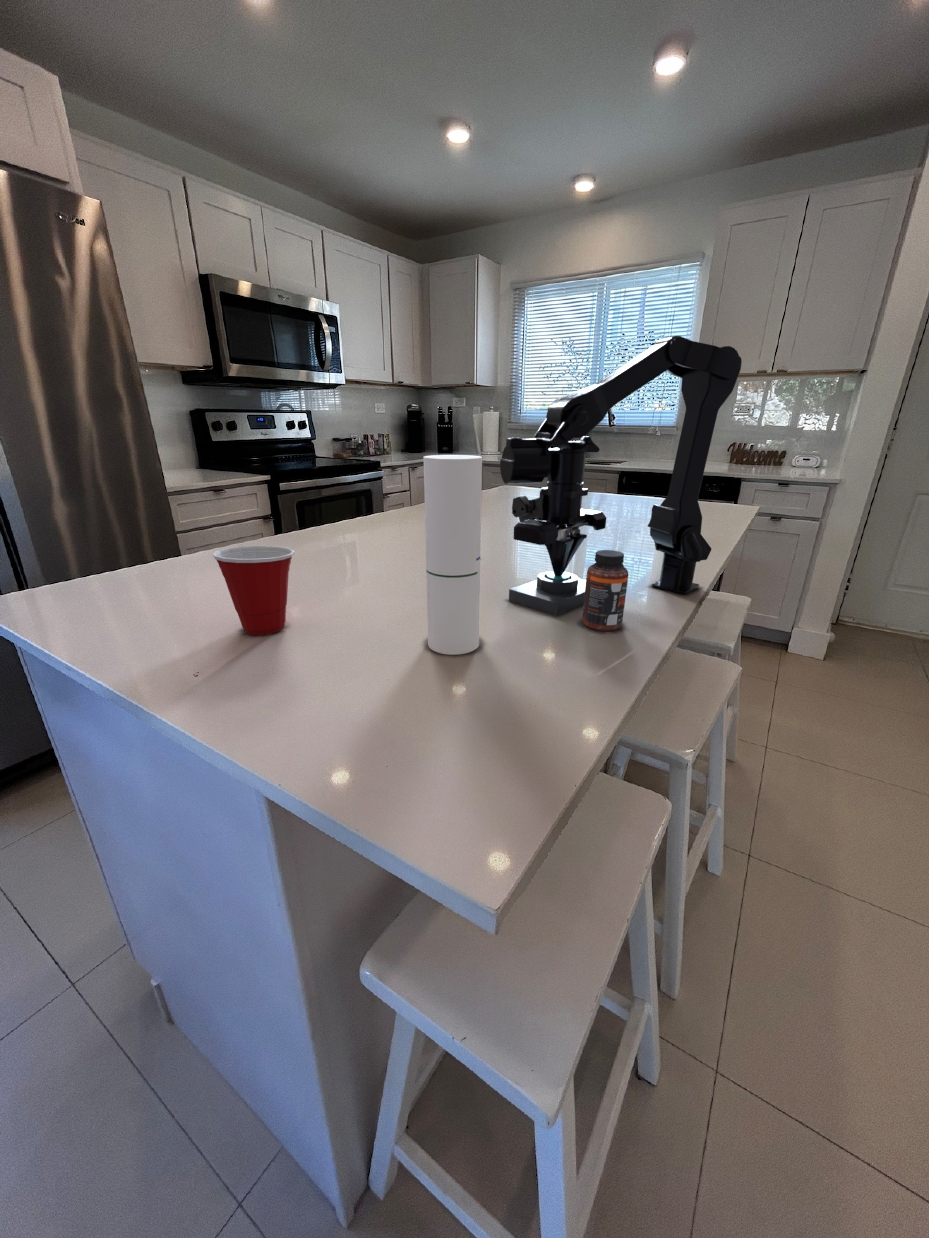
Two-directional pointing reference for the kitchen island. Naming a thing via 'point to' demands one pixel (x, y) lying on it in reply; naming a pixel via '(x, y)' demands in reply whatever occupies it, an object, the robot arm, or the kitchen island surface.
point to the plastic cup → (257, 585)
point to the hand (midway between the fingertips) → (558, 575)
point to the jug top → (550, 594)
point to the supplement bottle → (605, 591)
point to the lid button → (557, 577)
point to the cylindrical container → (453, 551)
